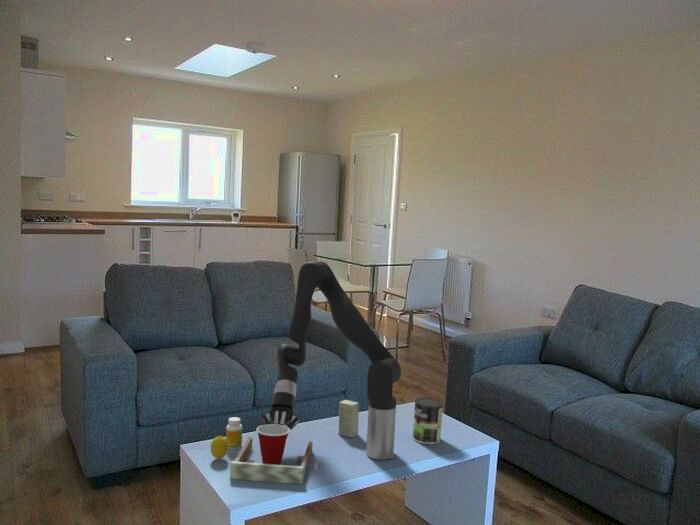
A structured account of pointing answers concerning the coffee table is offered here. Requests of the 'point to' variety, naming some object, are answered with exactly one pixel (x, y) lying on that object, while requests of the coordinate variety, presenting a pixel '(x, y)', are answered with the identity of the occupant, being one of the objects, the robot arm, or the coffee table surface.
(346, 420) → the skincare box
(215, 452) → the lemon
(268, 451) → the plastic cup
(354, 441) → the coffee table surface
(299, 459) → the pads
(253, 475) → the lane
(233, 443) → the supplement bottle
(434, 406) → the coffee can
